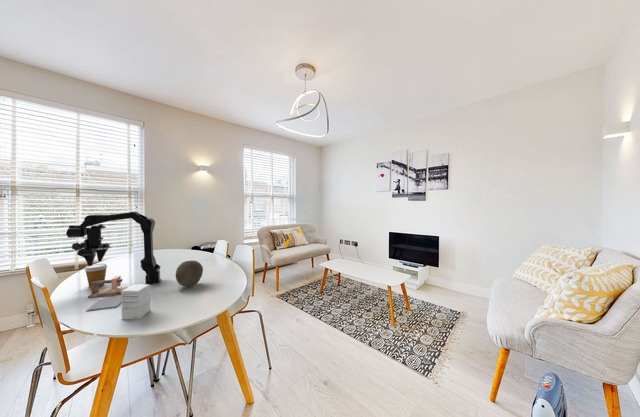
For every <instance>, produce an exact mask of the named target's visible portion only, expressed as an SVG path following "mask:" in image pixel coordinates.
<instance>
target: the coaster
mask: <svg viewBox="0 0 640 417" xmlns="http://www.w3.org/2000/svg"><path fill="white" fill-rule="evenodd" d="M120 305H121V296H120V297H112V298H111V297H110V298H105V299H99V300H98V301H96V302H94V304H92V305H91V306H90V307H88V308H87V309H86V310H85V311H86V312H92V311H100V310H107V309H115V308H116V309H117V308H118V307H119V306H120Z"/></svg>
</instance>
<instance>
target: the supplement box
mask: <svg viewBox="0 0 640 417" xmlns="http://www.w3.org/2000/svg"><path fill="white" fill-rule="evenodd" d="M150 291H151V287H150V284H132V285H130V286H127V288H126V289H124V290H122V291H121V294H120V297H121V304H120V305H121V320H140V319H141V318H142V317H143V316H145V315H146V314H148V313H149V312H150V311H151V293H150Z"/></svg>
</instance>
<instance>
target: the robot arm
mask: <svg viewBox="0 0 640 417" xmlns="http://www.w3.org/2000/svg"><path fill="white" fill-rule="evenodd" d="M128 219H132V220H133V221H134V222H136V223H137V224H139V225H140V229H141V232H142V233H143V251H144V252H143V253H144V254H143V255H144V257H143V258H142V259H141V260H140V262H139V263H140V268H141V270H142V271H144V272H145V277H144V278H145V279H144V280H145V284H148V285H150V284H151V285H152V284H158V283H159V282H161V280H162V278H161V267H162V266H160V265H159V264H158V263H157V260H156V258H155V256H154V242H153V241H154V239H153V235H154V234H153V232H154V229H155V224H156V221H155V219H153V218H151V217H147V216H146V215H143V214H142V213H140V212H138V211H130V212H122V213H113V214H98V213H97V214H88V215H86V216H85V217H84V220H83V221H82V222H81V223H80V225H78V224H77V225H73V224H71V225H69V226H68V228H67V229H66V230H67V231H66V232H65V234H66V237H67V238H69V239H70V238H72V239H73V238H74V239H75V238H84V237H85V236H86V238H85V239H84V240H83V242H81V243H79V242H75V243H72V244H71V245H72V246H71V249H72V250H73V251H74V252H76V254H77V256H79V257H82V258H83V259H84V260H85V261H86V264H87V266H92V265H94V261H95V259H96V256H97V262H98V263H99V262H100V263H101V262H102V261H103V259H104V257H105V255H106V253H107V252H108V250H109V248H110V247H111V246H110V243H109V242H105V243H102V240H103V239H104V237H102V229H106V228H107V227H106V226H105V225H103V224H104V223H107V222H112V221H119V220H120V221H121V220H128ZM145 284H144V285H145Z"/></svg>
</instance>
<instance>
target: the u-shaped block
mask: <svg viewBox="0 0 640 417" xmlns="http://www.w3.org/2000/svg"><path fill="white" fill-rule="evenodd" d="M118 279H122V276H121V275H116V276H114V277H113V278H111V279H110V280H111V283H110V284H111V285H110V286H111V287H110V289H111V290H113V289H117V288H119V287H121V286H122V282H117V280H118Z"/></svg>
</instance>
